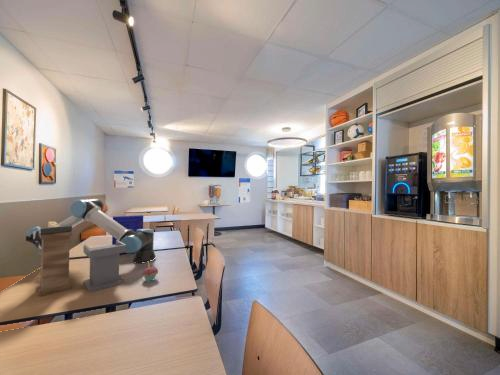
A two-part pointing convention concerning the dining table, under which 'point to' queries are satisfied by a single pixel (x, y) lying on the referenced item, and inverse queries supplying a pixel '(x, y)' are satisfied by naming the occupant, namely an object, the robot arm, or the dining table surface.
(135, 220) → the cereal box
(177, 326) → the dining table surface
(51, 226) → the pin
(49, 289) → the pin stand
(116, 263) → the tray stand
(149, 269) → the cupcake
